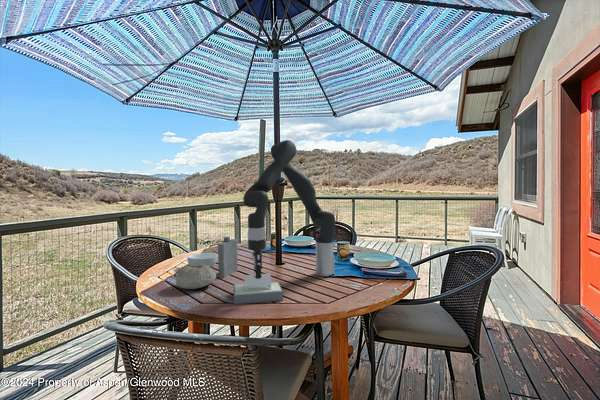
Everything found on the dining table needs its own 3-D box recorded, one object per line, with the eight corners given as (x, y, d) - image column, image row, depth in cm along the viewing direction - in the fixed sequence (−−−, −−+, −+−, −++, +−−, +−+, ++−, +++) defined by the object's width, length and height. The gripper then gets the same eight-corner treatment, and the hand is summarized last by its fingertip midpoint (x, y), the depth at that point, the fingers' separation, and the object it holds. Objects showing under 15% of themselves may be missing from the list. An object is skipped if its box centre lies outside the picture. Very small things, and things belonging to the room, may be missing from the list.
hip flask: (222, 278, 168) (222, 239, 167) (216, 278, 170) (215, 239, 168) (238, 270, 183) (237, 234, 182) (232, 269, 185) (231, 234, 183)
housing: (244, 285, 144) (244, 271, 144) (269, 284, 146) (269, 269, 146) (244, 291, 137) (244, 275, 137) (271, 289, 139) (271, 274, 139)
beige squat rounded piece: (194, 279, 168) (193, 259, 167) (223, 283, 161) (223, 263, 160) (168, 290, 151) (167, 268, 151) (199, 295, 144) (198, 272, 144)
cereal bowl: (224, 266, 193) (224, 254, 192) (201, 273, 179) (201, 260, 178) (204, 262, 202) (203, 251, 201) (181, 268, 188) (181, 256, 187)
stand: (278, 290, 150) (278, 281, 150) (283, 300, 138) (282, 290, 137) (233, 293, 146) (233, 284, 146) (233, 304, 134) (233, 294, 133)
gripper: (247, 235, 146) (248, 271, 147) (248, 241, 132) (249, 281, 134) (264, 234, 148) (264, 270, 149) (267, 240, 134) (268, 279, 135)
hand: (257, 275), depth 141 cm, fingers open, 8 cm apart
